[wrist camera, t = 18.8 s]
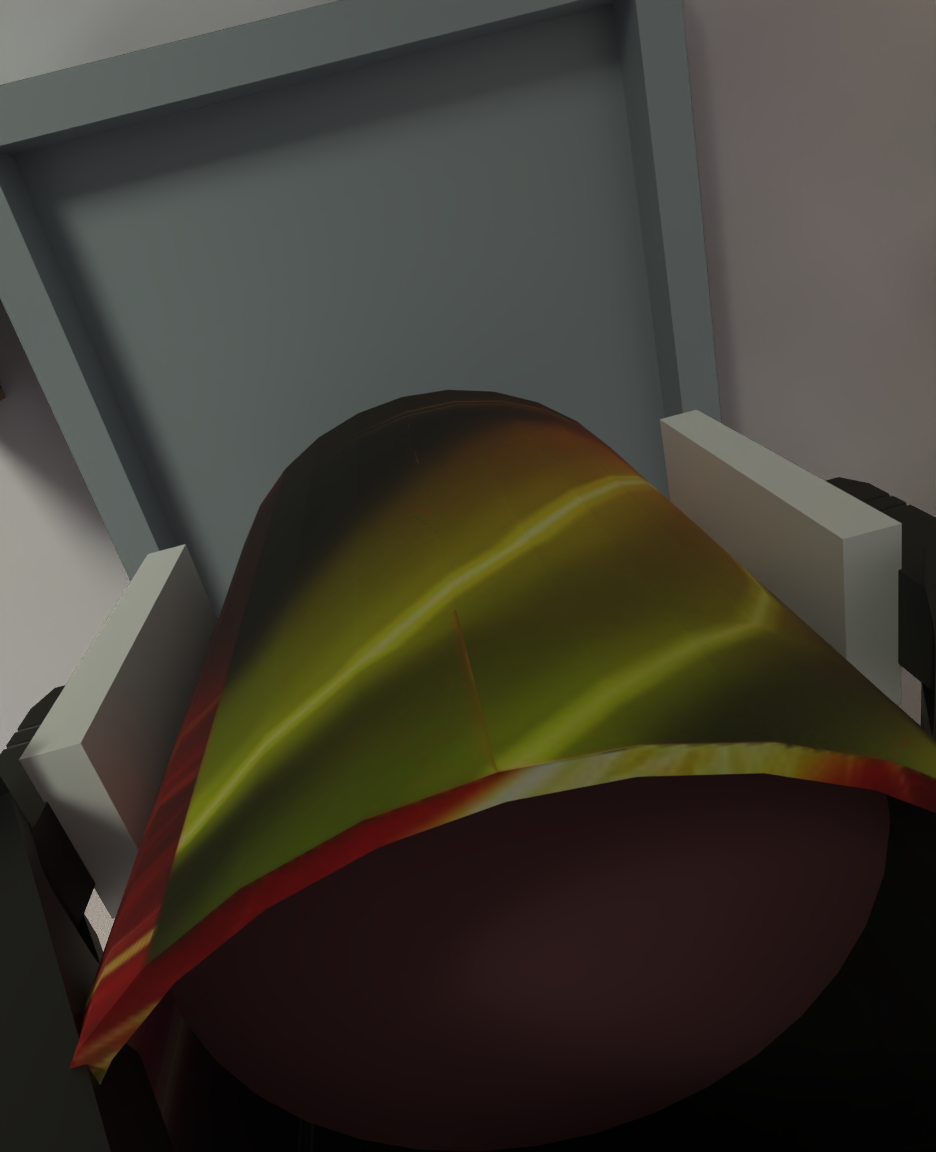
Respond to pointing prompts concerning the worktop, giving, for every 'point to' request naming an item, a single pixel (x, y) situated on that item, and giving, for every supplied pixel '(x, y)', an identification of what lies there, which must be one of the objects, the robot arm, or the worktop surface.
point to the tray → (352, 243)
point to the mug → (523, 829)
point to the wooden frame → (1, 394)
